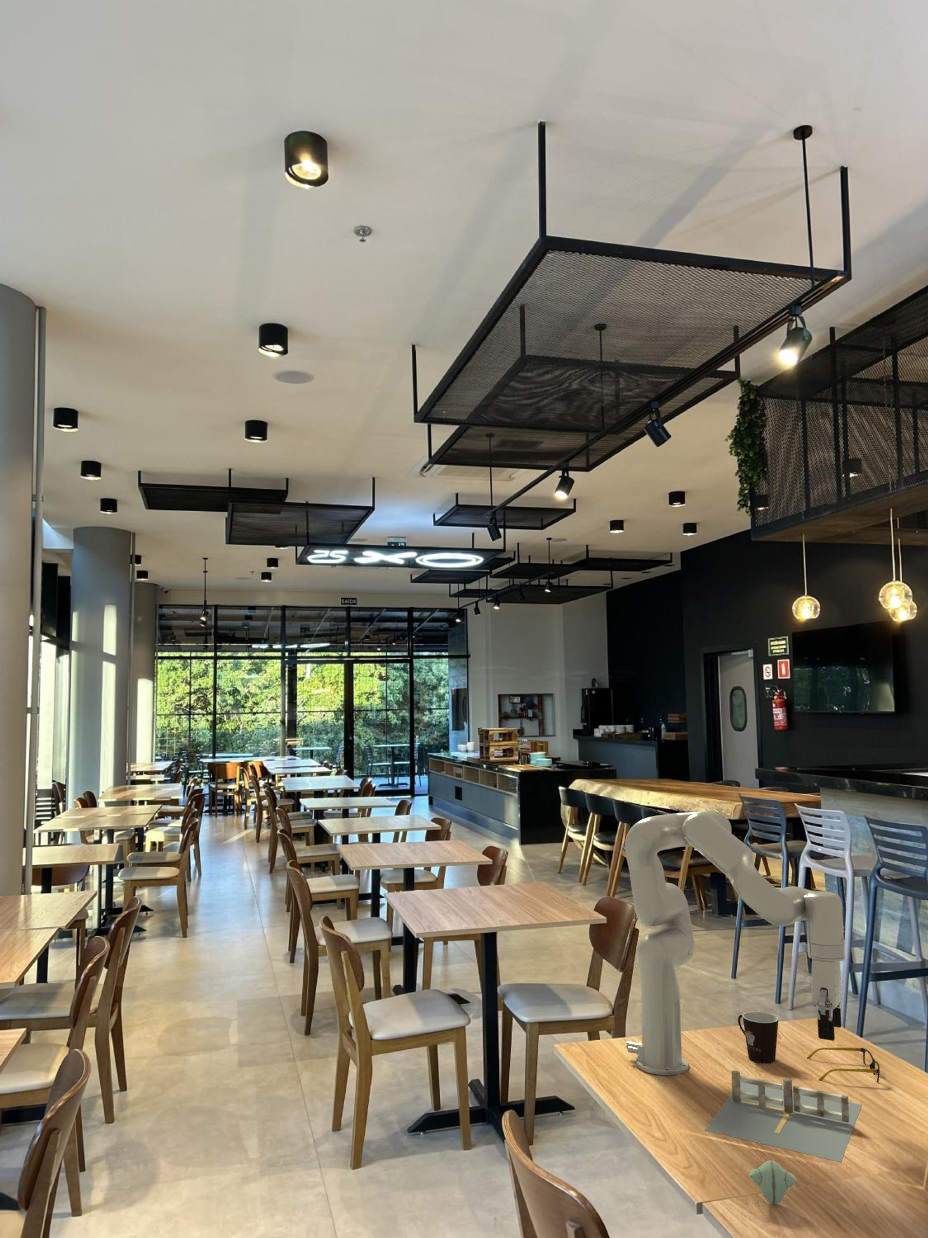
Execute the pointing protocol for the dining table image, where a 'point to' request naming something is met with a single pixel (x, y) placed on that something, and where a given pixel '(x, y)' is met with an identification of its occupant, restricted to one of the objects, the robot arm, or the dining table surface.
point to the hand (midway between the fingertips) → (830, 1032)
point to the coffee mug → (760, 1036)
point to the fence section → (762, 1091)
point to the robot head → (772, 1181)
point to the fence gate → (821, 1103)
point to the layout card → (786, 1124)
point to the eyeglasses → (871, 1070)
